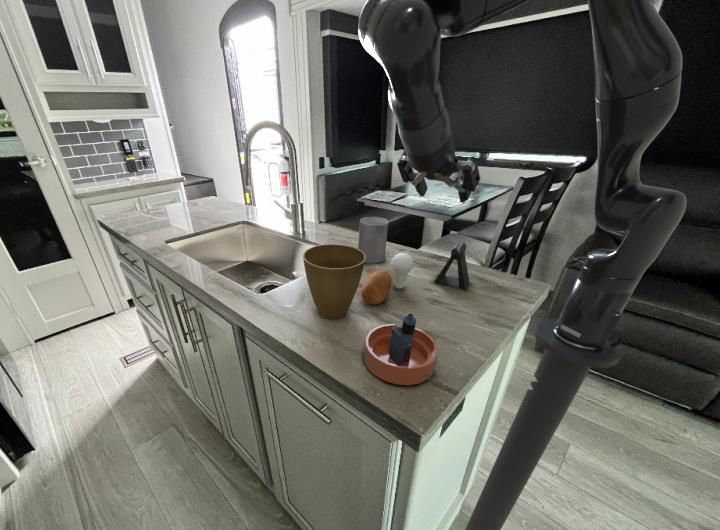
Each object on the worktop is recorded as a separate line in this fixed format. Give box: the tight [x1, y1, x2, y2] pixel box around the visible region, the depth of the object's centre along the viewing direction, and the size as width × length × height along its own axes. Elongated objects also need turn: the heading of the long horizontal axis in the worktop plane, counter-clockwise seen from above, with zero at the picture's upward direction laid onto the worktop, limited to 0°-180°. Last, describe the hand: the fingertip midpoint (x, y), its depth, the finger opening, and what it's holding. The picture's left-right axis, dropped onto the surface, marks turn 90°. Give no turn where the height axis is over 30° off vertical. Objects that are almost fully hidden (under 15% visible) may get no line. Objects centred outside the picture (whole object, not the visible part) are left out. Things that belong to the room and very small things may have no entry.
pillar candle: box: [357, 216, 389, 265], centre depth 111 cm, size 10×10×15 cm
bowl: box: [363, 323, 440, 386], centre depth 66 cm, size 14×14×5 cm
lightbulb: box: [390, 252, 414, 290], centre depth 93 cm, size 6×6×11 cm
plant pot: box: [302, 243, 366, 320], centre depth 80 cm, size 15×15×16 cm
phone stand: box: [434, 241, 470, 291], centre depth 95 cm, size 9×6×12 cm, turn 58°
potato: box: [360, 269, 393, 306], centre depth 89 cm, size 7×13×7 cm, turn 153°
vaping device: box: [389, 313, 417, 366], centre depth 63 cm, size 3×5×12 cm, turn 22°
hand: (443, 195), depth 65 cm, fingers open, 8 cm apart
